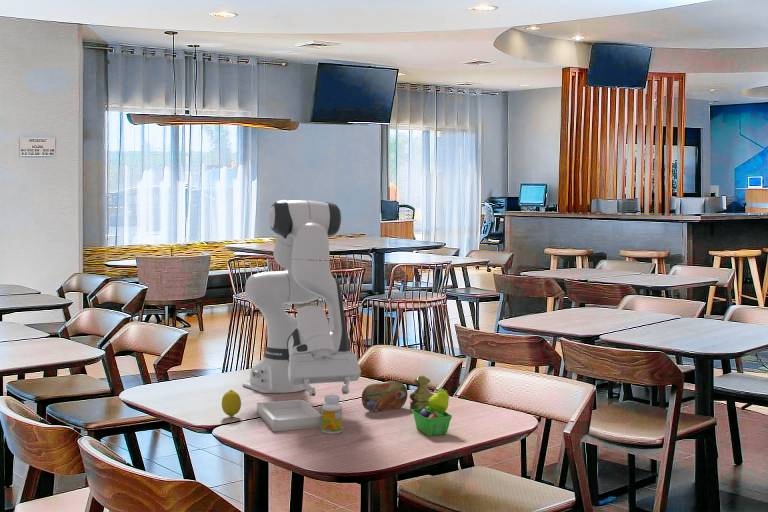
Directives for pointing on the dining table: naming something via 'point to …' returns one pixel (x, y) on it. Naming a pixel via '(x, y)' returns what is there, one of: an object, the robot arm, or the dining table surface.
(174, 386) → the dining table surface
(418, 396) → the olive brown figurine
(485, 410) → the dining table surface
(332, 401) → the supplement bottle
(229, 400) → the lemon
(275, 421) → the tray
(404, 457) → the dining table surface
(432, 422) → the fruit basket
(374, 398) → the tin
